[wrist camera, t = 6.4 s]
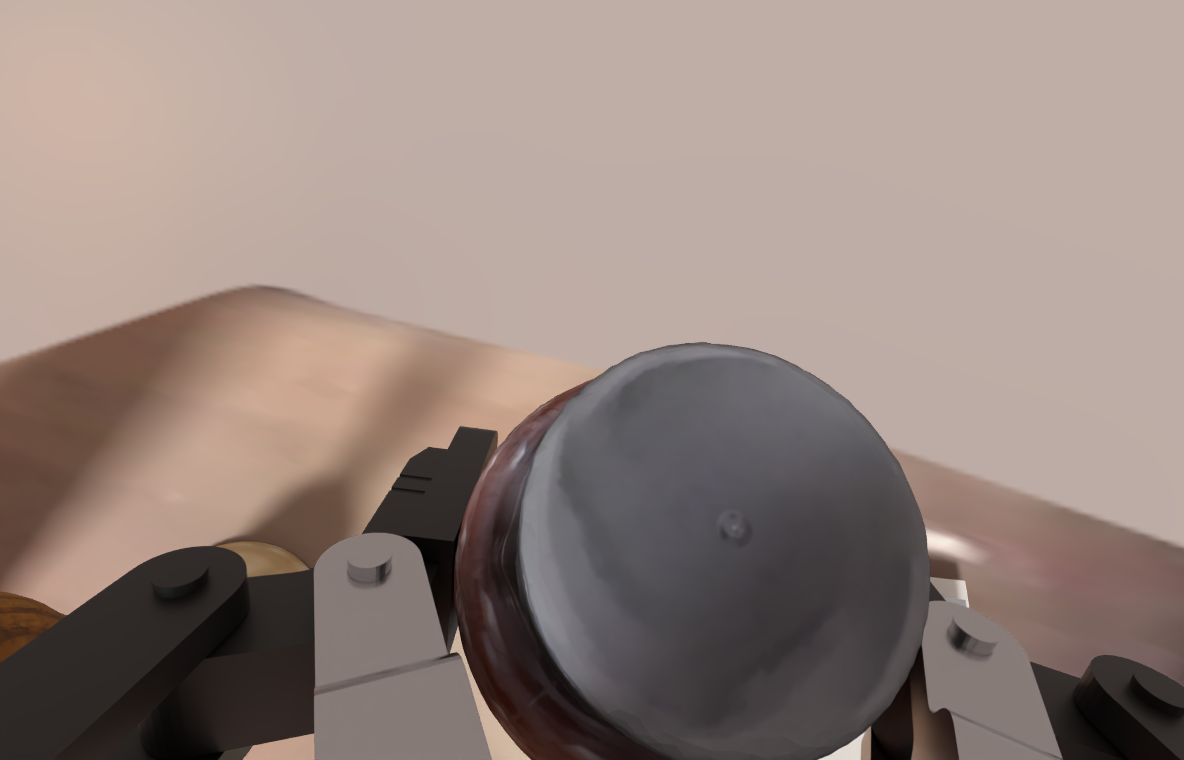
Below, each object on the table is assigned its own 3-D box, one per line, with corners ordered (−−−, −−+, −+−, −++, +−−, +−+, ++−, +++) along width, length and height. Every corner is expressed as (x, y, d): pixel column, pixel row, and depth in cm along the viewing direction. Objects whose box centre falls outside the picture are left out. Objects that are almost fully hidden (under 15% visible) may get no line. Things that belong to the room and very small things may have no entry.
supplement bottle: (747, 578, 16) (1132, 487, 6) (623, 778, 14) (891, 1215, 4) (584, 449, 17) (662, 178, 7) (445, 615, 15) (250, 585, 5)
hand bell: (274, 505, 27) (-51, 357, 12) (363, 658, 24) (97, 704, 10) (88, 623, 24) (-611, 617, 9) (169, 807, 22) (-587, 1171, 7)
